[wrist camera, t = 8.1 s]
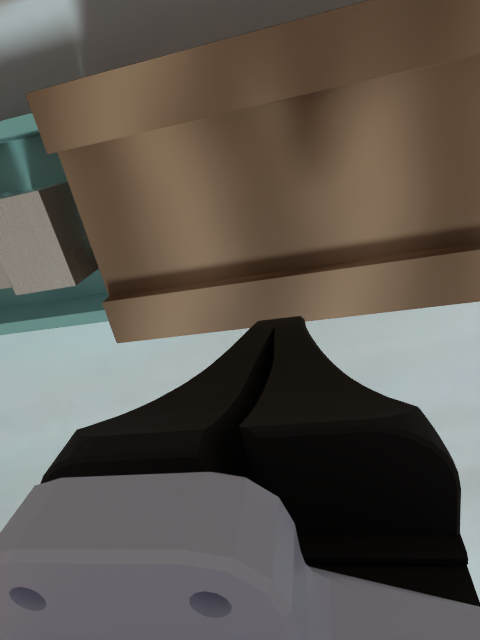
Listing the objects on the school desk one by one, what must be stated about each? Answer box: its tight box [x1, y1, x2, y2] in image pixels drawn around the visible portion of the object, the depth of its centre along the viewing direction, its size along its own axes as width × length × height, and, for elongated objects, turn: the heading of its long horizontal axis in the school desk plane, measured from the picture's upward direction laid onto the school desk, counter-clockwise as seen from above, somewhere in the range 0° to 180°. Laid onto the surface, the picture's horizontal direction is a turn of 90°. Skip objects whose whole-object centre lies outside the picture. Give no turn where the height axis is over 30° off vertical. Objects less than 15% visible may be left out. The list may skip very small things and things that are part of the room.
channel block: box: [25, 0, 480, 343], centre depth 17 cm, size 15×10×5 cm, turn 102°
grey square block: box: [0, 181, 99, 295], centre depth 19 cm, size 4×4×3 cm
